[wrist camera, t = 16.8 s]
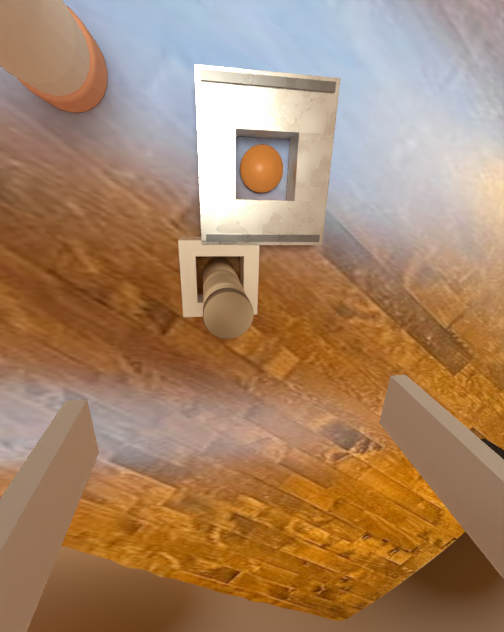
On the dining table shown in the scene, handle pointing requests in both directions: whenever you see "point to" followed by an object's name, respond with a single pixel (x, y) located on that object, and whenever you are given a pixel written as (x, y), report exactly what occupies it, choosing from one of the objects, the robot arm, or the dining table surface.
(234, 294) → the brown wooden cylinder
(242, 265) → the holder
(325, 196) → the grey square frame
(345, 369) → the dining table surface
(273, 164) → the button
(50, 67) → the salt shaker
